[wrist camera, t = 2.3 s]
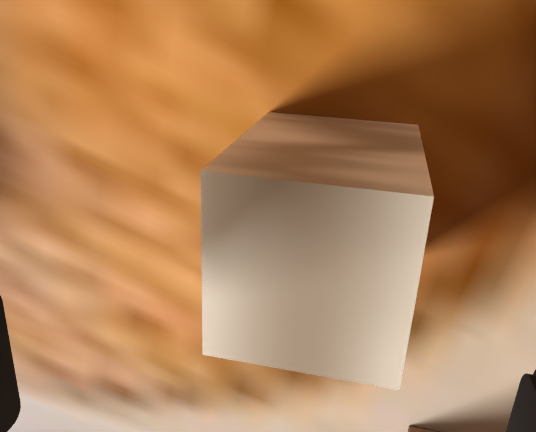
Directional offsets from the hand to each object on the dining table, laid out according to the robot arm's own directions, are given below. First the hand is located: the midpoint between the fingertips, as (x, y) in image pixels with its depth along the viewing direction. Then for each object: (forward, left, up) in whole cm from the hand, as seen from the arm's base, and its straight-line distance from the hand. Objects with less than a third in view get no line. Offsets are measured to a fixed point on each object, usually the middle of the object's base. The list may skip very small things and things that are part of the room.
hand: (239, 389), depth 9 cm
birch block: (-1, 0, -10) cm, 10 cm away
